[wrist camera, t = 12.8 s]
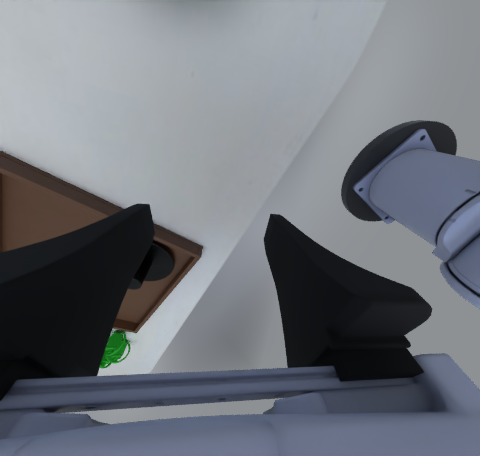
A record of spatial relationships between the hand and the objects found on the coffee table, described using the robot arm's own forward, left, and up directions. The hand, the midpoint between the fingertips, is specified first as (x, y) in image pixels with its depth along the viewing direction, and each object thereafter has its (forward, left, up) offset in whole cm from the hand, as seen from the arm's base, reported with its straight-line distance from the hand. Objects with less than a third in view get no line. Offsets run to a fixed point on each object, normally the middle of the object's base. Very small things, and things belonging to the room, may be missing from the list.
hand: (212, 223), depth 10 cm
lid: (+2, +16, -8) cm, 18 cm away
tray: (+7, +23, -9) cm, 25 cm away
